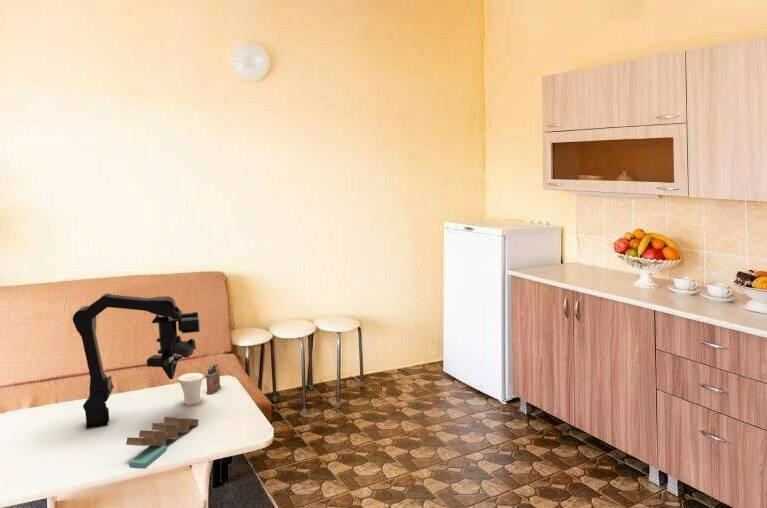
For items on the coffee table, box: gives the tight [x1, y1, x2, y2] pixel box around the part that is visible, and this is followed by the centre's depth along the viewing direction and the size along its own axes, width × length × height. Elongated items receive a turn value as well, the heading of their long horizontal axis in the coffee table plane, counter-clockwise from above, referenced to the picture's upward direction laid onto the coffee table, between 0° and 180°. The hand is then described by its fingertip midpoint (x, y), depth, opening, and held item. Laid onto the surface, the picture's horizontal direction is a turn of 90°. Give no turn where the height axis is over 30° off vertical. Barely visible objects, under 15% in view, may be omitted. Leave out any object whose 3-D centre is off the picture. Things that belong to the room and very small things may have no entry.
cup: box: [176, 372, 205, 406], centre depth 218 cm, size 9×9×10 cm
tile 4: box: [125, 436, 168, 447], centre depth 179 cm, size 2×5×11 cm
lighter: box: [205, 362, 222, 396], centre depth 230 cm, size 8×3×10 cm, turn 168°
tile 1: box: [163, 416, 200, 427], centre depth 195 cm, size 2×5×11 cm
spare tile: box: [128, 445, 167, 469], centre depth 177 cm, size 2×5×11 cm
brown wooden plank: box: [151, 422, 191, 433], centre depth 190 cm, size 2×5×11 cm
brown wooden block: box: [138, 429, 179, 440], centre depth 184 cm, size 2×5×11 cm
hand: (171, 378), depth 206 cm, fingers closed
